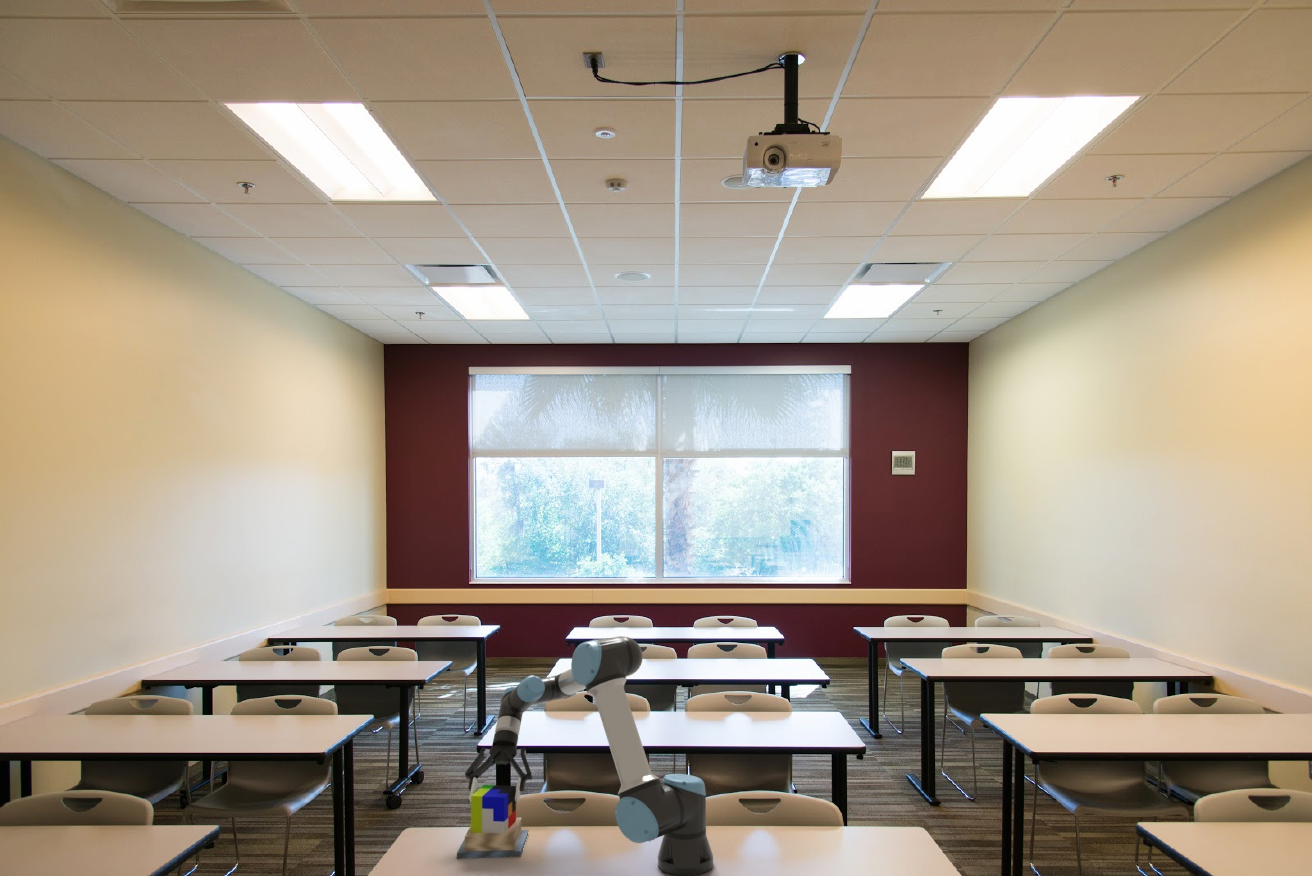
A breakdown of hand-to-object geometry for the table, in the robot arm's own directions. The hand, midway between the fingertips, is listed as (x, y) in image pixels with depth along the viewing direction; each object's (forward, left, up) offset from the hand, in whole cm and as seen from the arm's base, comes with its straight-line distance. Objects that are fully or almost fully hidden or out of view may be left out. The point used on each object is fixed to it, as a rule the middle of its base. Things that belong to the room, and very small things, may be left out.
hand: (493, 801), depth 235 cm
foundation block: (0, +1, -12) cm, 12 cm away
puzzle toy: (0, +1, -7) cm, 7 cm away
